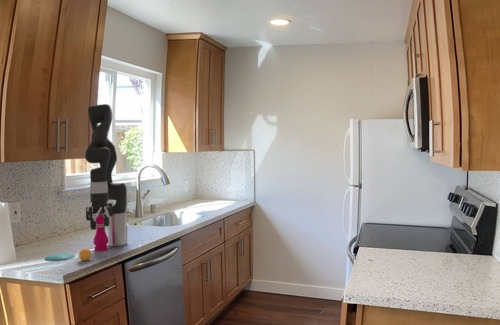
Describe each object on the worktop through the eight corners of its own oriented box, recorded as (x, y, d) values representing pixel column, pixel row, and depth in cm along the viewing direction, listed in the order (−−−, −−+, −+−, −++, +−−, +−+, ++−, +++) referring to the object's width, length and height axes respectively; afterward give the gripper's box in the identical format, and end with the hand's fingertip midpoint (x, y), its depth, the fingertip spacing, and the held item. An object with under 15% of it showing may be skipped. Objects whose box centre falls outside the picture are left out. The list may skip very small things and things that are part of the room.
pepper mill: (103, 247, 215) (102, 209, 214) (111, 249, 210) (110, 210, 209) (90, 250, 209) (89, 211, 208) (98, 252, 205) (97, 212, 204)
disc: (61, 252, 205) (61, 252, 205) (80, 255, 200) (80, 254, 200) (38, 259, 193) (38, 259, 193) (58, 262, 188) (58, 261, 188)
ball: (85, 258, 194) (85, 246, 194) (94, 259, 192) (94, 247, 192) (76, 261, 189) (76, 249, 189) (85, 262, 187) (85, 250, 187)
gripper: (104, 189, 193) (105, 224, 194) (80, 193, 180) (81, 230, 181) (116, 190, 190) (117, 225, 191) (93, 193, 177) (94, 231, 178)
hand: (100, 227), depth 186 cm, fingers open, 7 cm apart
